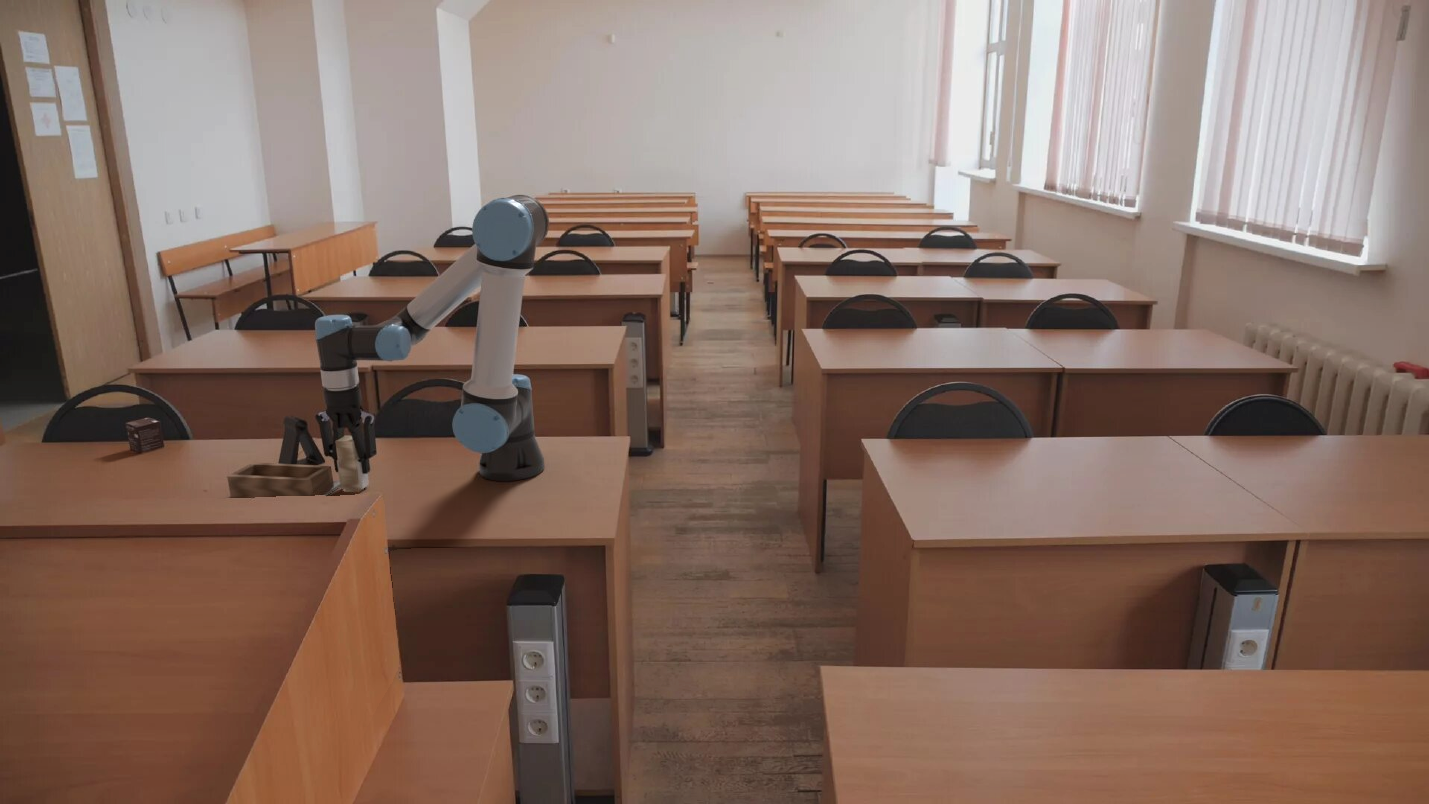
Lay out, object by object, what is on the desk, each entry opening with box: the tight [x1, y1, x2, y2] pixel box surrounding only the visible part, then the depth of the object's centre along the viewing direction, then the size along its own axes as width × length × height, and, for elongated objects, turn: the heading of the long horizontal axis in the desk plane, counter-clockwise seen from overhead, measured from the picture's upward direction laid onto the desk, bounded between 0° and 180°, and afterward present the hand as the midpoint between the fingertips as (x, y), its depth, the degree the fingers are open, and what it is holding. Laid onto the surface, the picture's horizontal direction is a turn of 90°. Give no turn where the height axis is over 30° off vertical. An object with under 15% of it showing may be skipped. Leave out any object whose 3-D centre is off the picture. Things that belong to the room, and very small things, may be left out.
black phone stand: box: [277, 414, 326, 466], centre depth 227 cm, size 9×6×12 cm, turn 138°
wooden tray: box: [226, 462, 341, 498], centre depth 208 cm, size 20×16×6 cm
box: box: [124, 416, 165, 454], centre depth 242 cm, size 6×6×7 cm
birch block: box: [335, 434, 368, 493], centre depth 211 cm, size 4×4×12 cm
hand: (354, 485), depth 212 cm, fingers closed on birch block, 4 cm apart
